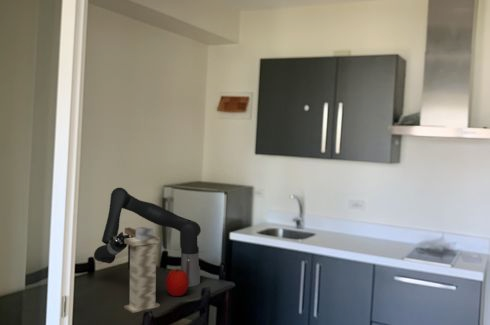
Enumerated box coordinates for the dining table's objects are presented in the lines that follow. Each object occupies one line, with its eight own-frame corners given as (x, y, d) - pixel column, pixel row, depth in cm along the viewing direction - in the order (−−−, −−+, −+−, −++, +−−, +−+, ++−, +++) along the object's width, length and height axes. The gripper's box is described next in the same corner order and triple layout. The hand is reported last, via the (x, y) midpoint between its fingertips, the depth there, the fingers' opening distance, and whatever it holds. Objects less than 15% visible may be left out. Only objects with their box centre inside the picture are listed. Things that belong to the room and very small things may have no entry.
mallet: (132, 232, 250) (132, 221, 250) (152, 239, 235) (152, 228, 235) (121, 233, 246) (121, 223, 246) (141, 240, 232) (141, 229, 231)
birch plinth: (150, 301, 246) (151, 235, 244) (159, 306, 240) (160, 238, 238) (123, 307, 237) (124, 238, 235) (132, 312, 231) (132, 241, 229)
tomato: (176, 289, 265) (177, 264, 264) (193, 295, 257) (194, 269, 256) (159, 295, 256) (159, 268, 255) (176, 300, 248) (177, 273, 247)
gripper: (102, 239, 253) (115, 227, 242) (128, 235, 262) (142, 224, 251) (105, 253, 251) (118, 242, 239) (132, 249, 260) (146, 238, 248)
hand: (130, 233), depth 245 cm, fingers open, 8 cm apart
